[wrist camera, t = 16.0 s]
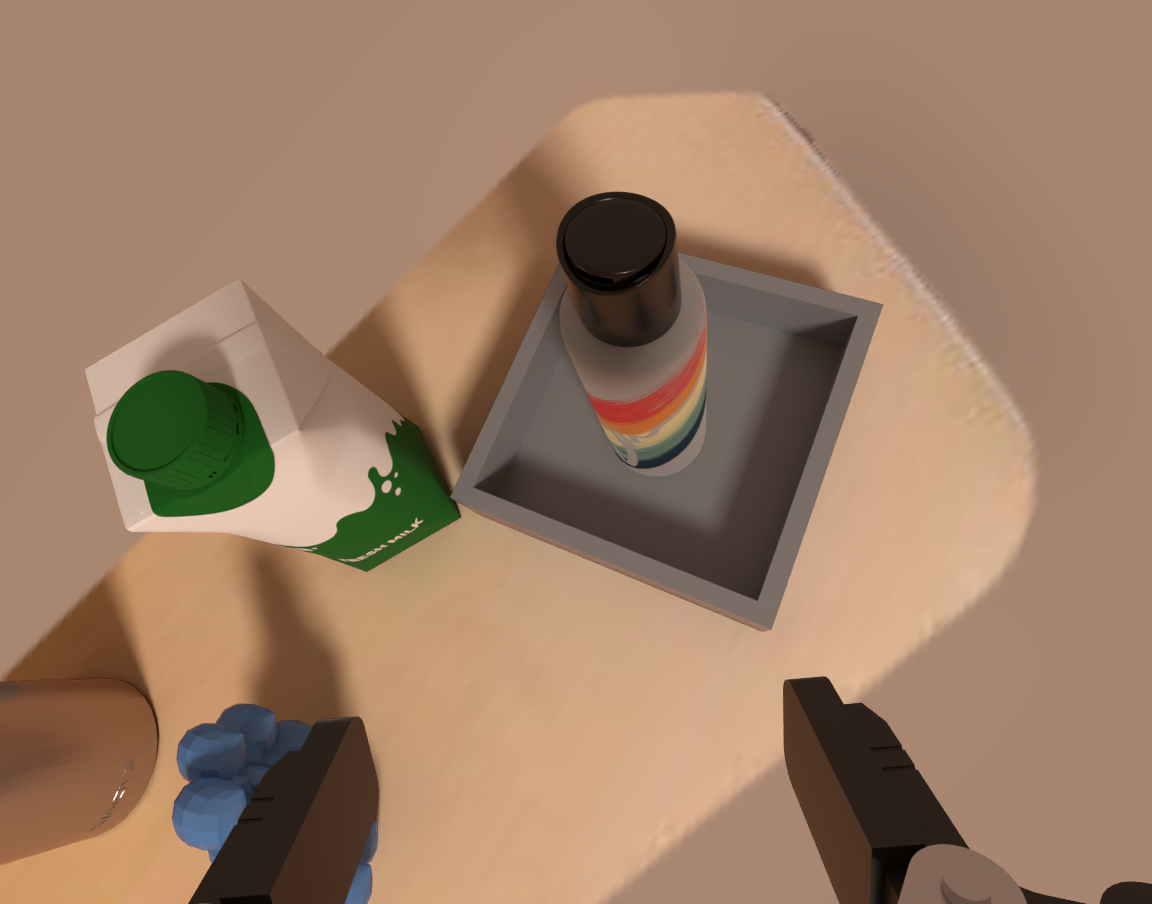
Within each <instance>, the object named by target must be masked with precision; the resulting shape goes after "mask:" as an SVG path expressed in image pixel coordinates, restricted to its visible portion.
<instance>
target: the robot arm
mask: <svg viewBox="0 0 1152 904" xmlns="http://www.w3.org/2000/svg"><path fill="white" fill-rule="evenodd" d="M783 721H784V754H785V761H786V766H787V770H788V774H789V778H790V781H791V784H792V786H793V789H794V791H795V794H796V796H797V799H798V801H799V804H800V806H801V809H802V811H803V814H804V816H805V819H806V821H807V824H808V826H809V829H810V831H811V834H812V836H813V839H814V841H815V844H816V846H817V848H818V851H819V854H820V856H821V859H822V861H823V864H824V866H825V869H826V871H827V874H828V876H829V878H830V881H831V883H832V886H833V888H834V891H835V893H836V896H837V898H838V901H839V903H840V904H1085V903H1080V902H1075V901H1071V900H1066V899H1061V898H1056V897H1052V896H1047V895H1042V894H1039V893H1035V892H1032V891H1030V890H1027V889H1024V888H1021V887H1019V886H1018V885H1017V883H1016V882H1015V881H1014V880H1013V879H1012V877H1011V876H1010V875H1009V874H1008V873H1007V872H1006V871H1005V870H1003V869H1002V868H1001V867H1000V866H999V865H997V864H996V863H995V862H993V861H992V860H990V859H988V858H987V857H985V856H983V855H981V854H979V853H977V852H975V851H973V850H970V849H969V847H968V846H967V845H966V843H965V842H964V840H963V838H962V837H961V836H960V834H959V832H958V831H957V829H956V828H955V826H954V825H953V823H952V822H951V820H950V819H949V817H948V816H947V814H946V812H945V811H944V809H943V808H942V806H941V805H940V803H939V802H938V800H937V799H936V797H935V796H934V794H933V793H932V791H931V789H930V788H929V786H928V785H927V783H926V782H925V780H924V779H923V778H922V776H921V774H920V773H919V771H918V770H916V769H915V766H914V763H913V762H912V760H911V759H910V757H909V756H908V754H907V753H906V751H905V750H903V749H902V745H901V744H900V742H899V741H898V739H897V737H896V736H895V735H894V733H893V732H892V730H891V728H890V727H889V725H888V724H887V722H886V721H885V720H883V719H882V718H881V717H879V716H878V715H877V714H875V713H874V712H873V711H872V710H870V709H869V708H868V707H866V706H865V705H864V704H863V703H854V704H843V702H842V700H841V699H840V697H839V695H838V694H837V692H836V690H835V688H834V687H833V685H832V683H831V682H830V680H829V679H828V678H827V677H825V676H823V677H812V678H800V679H789V680H785V681H784V686H783ZM157 740H158V739H157V730H156V722H155V719H154V716H153V713H152V709H151V708H150V706H149V704H148V702H147V701H146V699H145V697H144V696H143V695H142V694H141V693H140V692H139V691H138V690H137V689H136V688H135V687H133V686H132V685H130V684H128V683H126V682H125V681H121V680H117V679H86V680H74V679H71V678H68V679H47V680H26V681H5V682H0V865H3V864H6V863H10V862H13V861H16V860H19V859H23V858H26V857H29V856H33V855H36V854H39V853H43V852H46V851H49V850H52V849H56V848H59V847H62V846H65V845H69V844H72V843H75V842H78V841H82V840H85V839H88V838H91V837H95V836H98V835H100V834H102V833H104V832H106V831H108V830H110V829H112V828H113V827H114V826H116V825H117V824H118V823H119V822H121V821H122V820H123V819H124V818H125V817H126V816H127V815H128V814H129V813H130V812H131V811H132V809H133V808H134V807H135V806H136V804H137V803H138V801H139V800H140V798H141V796H142V795H143V793H144V792H145V790H146V787H147V785H148V783H149V780H150V778H151V775H152V772H153V768H154V764H155V760H156V754H157ZM378 795H379V790H378V780H377V775H376V771H375V767H374V763H373V759H372V755H371V751H370V747H369V743H368V739H367V735H366V731H365V727H364V723H363V721H362V719H361V718H360V717H358V716H356V717H345V718H334V719H322V720H318V721H317V722H316V723H315V724H314V726H313V727H312V729H311V731H310V733H309V735H308V736H307V738H306V740H305V742H304V744H303V746H302V747H301V749H300V750H298V751H288V752H287V753H286V754H285V755H284V756H283V757H282V758H281V759H280V760H279V761H278V762H277V763H276V764H275V765H274V766H272V767H271V768H270V769H269V770H268V771H267V772H266V773H265V774H264V776H263V778H262V779H261V781H260V783H259V784H258V786H257V788H256V790H255V791H254V793H253V795H252V796H251V798H250V803H249V804H247V805H246V807H245V808H244V810H243V812H242V813H241V815H240V817H239V818H238V824H237V825H234V827H233V829H232V830H231V832H230V834H229V835H228V837H227V839H226V841H225V842H224V844H223V846H222V847H221V849H220V851H219V852H218V854H217V856H216V858H215V859H214V861H213V863H212V864H211V866H210V868H209V869H208V871H207V873H206V874H205V876H204V878H203V880H202V881H201V883H200V885H199V886H198V888H197V890H196V891H195V893H194V895H193V897H192V898H191V900H190V902H189V903H188V904H345V902H346V899H347V896H348V893H349V890H350V887H351V885H352V882H353V879H354V876H355V873H356V870H357V867H358V865H359V862H360V859H361V856H362V853H363V850H364V848H365V845H366V842H367V839H368V836H369V833H370V830H371V828H372V825H373V822H374V819H375V816H376V812H377V806H378ZM1100 904H1152V884H1148V883H1142V882H1121V883H1118V884H1114V885H1112V886H1111V887H1109V888H1107V889H1106V891H1105V892H1104V893H1103V895H1102V898H1101V901H1100Z"/></svg>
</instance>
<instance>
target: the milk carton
mask: <svg viewBox="0 0 1152 904" xmlns="http://www.w3.org/2000/svg"><path fill="white" fill-rule="evenodd" d="M85 372H86V376H87V380H88V383H89V387H90V391H91V395H92V399H93V402H94V406H95V409H96V413H97V417H95V418H94V423H95V427H96V432H97V435H98V438H99V440H100V442H101V443H102V447H103V450H104V454H105V458H106V461H107V465H108V468H109V472H110V475H111V479H112V482H113V486H114V490H115V493H116V497H117V500H118V504H119V507H120V511H121V514H122V518H123V521H124V524H125V528H126V529H127V530H129V531H131V532H221V533H230V534H235V535H239V536H243V537H248V538H252V539H256V540H260V541H264V542H269V543H273V544H277V545H281V546H285V547H289V548H294V549H298V550H302V551H306V552H310V553H314V554H318V555H322V556H325V557H327V558H330V559H333V560H336V561H338V562H341V563H344V564H347V565H349V566H352V567H355V568H358V569H361V570H363V571H366V572H367V571H369V570H371V569H373V568H374V567H376V566H378V565H380V564H381V563H383V562H385V561H387V560H388V559H390V558H392V557H393V556H395V555H397V554H399V553H400V552H402V551H404V550H406V549H407V548H409V547H411V546H413V545H414V544H416V543H418V542H419V541H421V540H423V539H425V538H426V537H428V536H430V535H432V534H433V533H435V532H437V531H439V530H440V529H442V528H444V527H445V526H447V525H449V524H451V523H452V522H454V521H456V520H458V519H459V518H461V515H460V513H459V511H458V509H457V507H456V505H455V503H454V501H453V499H451V498H450V497H451V494H450V492H449V490H448V488H447V486H446V484H445V482H444V479H443V477H442V475H441V473H440V471H439V469H438V467H437V465H436V463H435V460H434V458H433V456H432V454H431V452H430V450H429V448H428V446H427V444H426V441H425V439H424V437H423V435H422V433H421V431H420V429H419V427H418V426H417V425H415V424H414V423H412V422H411V421H410V420H408V419H407V418H405V417H404V416H403V415H401V414H400V413H399V412H398V411H396V410H395V409H394V408H392V407H391V406H390V405H389V404H387V403H386V402H385V401H383V400H382V399H381V398H379V397H378V396H377V395H375V394H374V393H373V392H372V391H370V390H369V389H368V388H366V387H365V386H364V385H362V384H361V383H360V382H358V381H357V380H356V379H355V378H353V377H352V376H351V375H349V374H348V373H347V372H345V371H344V370H343V369H342V368H340V367H339V366H338V365H336V364H335V363H334V362H332V361H331V360H329V359H328V358H327V357H325V356H324V355H323V354H322V353H321V352H319V351H318V350H317V349H316V348H314V347H313V346H312V345H311V344H310V343H309V342H308V341H307V340H306V339H305V338H303V337H302V336H301V335H300V334H299V333H298V332H297V331H296V330H294V328H293V327H291V326H290V325H289V324H288V323H287V322H286V321H285V320H284V319H283V318H282V317H280V316H279V315H278V314H277V313H276V312H275V311H274V310H273V309H272V308H271V307H270V306H269V305H268V304H266V303H265V302H264V301H263V300H262V299H261V298H260V297H259V296H258V295H257V294H255V292H253V291H252V290H251V289H250V288H249V287H248V286H247V285H246V284H245V283H244V282H243V281H242V280H241V279H240V278H238V279H236V280H234V281H233V282H231V283H229V284H228V285H226V286H224V287H223V288H221V289H219V290H218V291H216V292H214V293H213V294H211V295H209V296H208V297H206V298H204V299H202V300H201V301H199V302H198V303H196V304H194V305H192V306H191V307H189V308H187V309H186V310H184V311H182V312H181V313H179V314H178V315H175V316H174V317H172V318H170V319H169V320H167V321H165V322H164V323H162V324H160V325H159V326H157V327H155V328H153V329H152V330H150V331H149V332H147V333H145V334H143V335H142V336H140V337H138V338H137V339H135V340H133V341H132V342H130V343H128V344H127V345H125V346H123V347H122V348H120V349H118V350H116V351H115V352H113V353H111V354H110V355H108V356H106V357H105V358H103V359H101V360H100V361H98V362H96V363H95V364H93V365H91V366H90V367H88V368H86V369H85Z"/></svg>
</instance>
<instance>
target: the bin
mask: <svg viewBox="0 0 1152 904" xmlns="http://www.w3.org/2000/svg"><path fill="white" fill-rule="evenodd" d="M678 258H679V259H680V260H682V261H683V262H684V263H685V264H686V265H687V266H688V267H689V268H690V269H691V270H692V271H693V272H694V274H695V275H696V277H697V278H698V280H699V282H700V285H701V287H702V289H703V293H704V296H705V301H706V314H707V378H706V433H705V439H704V442H703V445H702V448H701V450H700V452H699V454H698V455H697V457H696V458H695V459H694V460H693V461H692V462H691V463H690V464H689V465H688V466H687V467H685V468H684V469H682V470H680V471H679V472H676V473H674V474H671V475H667V476H659V477H655V476H647V475H643V474H640V473H637V472H635V471H633V470H632V469H630V468H629V467H627V466H626V465H625V464H624V463H623V462H622V461H621V460H620V459H619V458H618V456H617V455H616V453H615V452H614V450H613V448H612V446H611V444H610V442H609V440H608V438H607V436H606V433H605V431H604V429H603V427H602V425H601V423H600V420H599V418H598V416H597V414H596V412H595V410H594V407H593V405H592V403H591V401H590V399H589V397H588V394H587V392H586V390H585V388H584V386H583V384H582V381H581V379H580V377H579V375H578V373H577V371H576V368H575V366H574V364H573V362H572V360H571V357H570V355H569V353H568V351H567V348H566V346H565V343H564V341H563V338H562V334H561V329H560V307H561V302H562V299H563V296H564V293H565V291H566V289H567V287H568V284H567V282H566V279H565V276H564V274H563V271H562V268H561V265H560V262H559V264H558V266H557V269H556V271H555V273H554V275H553V277H552V279H551V282H550V284H549V286H548V288H547V290H546V292H545V294H544V297H543V299H542V301H541V303H540V305H539V307H538V309H537V312H536V314H535V316H534V318H533V320H532V322H531V325H530V327H529V329H528V331H527V333H526V335H525V337H524V340H523V342H522V344H521V346H520V348H519V350H518V352H517V355H516V357H515V359H514V361H513V363H512V365H511V368H510V370H509V372H508V374H507V376H506V378H505V380H504V383H503V385H502V387H501V389H500V391H499V393H498V396H497V398H496V400H495V402H494V404H493V406H492V408H491V411H490V413H489V415H488V417H487V419H486V421H485V423H484V426H483V428H482V430H481V432H480V434H479V436H478V439H477V441H476V443H475V445H474V447H473V449H472V451H471V454H470V456H469V458H468V460H467V462H466V464H465V466H464V469H463V471H462V473H461V475H460V477H459V479H458V482H457V484H456V486H455V488H454V490H453V492H452V494H451V497H450V498H451V499H453V500H455V501H457V502H458V503H460V504H462V505H463V506H465V507H467V508H469V509H470V510H472V511H474V512H475V513H477V514H479V515H481V516H483V517H486V518H488V519H490V520H493V521H495V522H498V523H500V524H503V525H505V526H507V527H510V528H512V529H515V530H517V531H520V532H522V533H524V534H527V535H529V536H532V537H534V538H537V539H539V540H541V541H544V542H546V543H549V544H551V545H554V546H556V547H558V548H561V549H563V550H566V551H568V552H570V553H573V554H575V555H578V556H580V557H583V558H585V559H587V560H590V561H592V562H595V563H597V564H600V565H602V566H604V567H607V568H609V569H612V570H614V571H617V572H619V573H621V574H624V575H626V576H629V577H631V578H634V579H636V580H638V581H641V582H643V583H646V584H648V585H651V586H653V587H655V588H658V589H660V590H663V591H665V592H668V593H670V594H672V595H675V596H677V597H680V598H682V599H685V600H687V601H689V602H692V603H694V604H697V605H699V606H702V607H704V608H706V609H709V610H711V611H714V612H716V613H719V614H721V615H723V616H726V617H728V618H731V619H733V620H735V621H738V622H740V623H743V624H745V625H748V626H750V627H752V628H755V629H757V630H760V631H762V632H764V631H767V630H771V629H772V626H773V623H774V620H775V618H776V615H777V612H778V609H779V606H780V603H781V600H782V597H783V594H784V591H785V589H786V586H787V583H788V580H789V577H790V574H791V571H792V568H793V565H794V562H795V559H796V557H797V554H798V551H799V548H800V545H801V542H802V539H803V536H804V533H805V530H806V528H807V525H808V522H809V519H810V516H811V513H812V510H813V507H814V504H815V501H816V499H817V496H818V493H819V490H820V487H821V484H822V481H823V478H824V475H825V472H826V469H827V467H828V464H829V461H830V458H831V455H832V452H833V449H834V446H835V443H836V440H837V438H838V435H839V432H840V429H841V426H842V423H843V420H844V417H845V414H846V411H847V408H848V406H849V403H850V400H851V397H852V394H853V391H854V388H855V385H856V382H857V379H858V377H859V374H860V371H861V368H862V365H863V362H864V359H865V356H866V353H867V350H868V348H869V345H870V342H871V339H872V336H873V333H874V330H875V327H876V324H877V321H878V318H879V316H880V313H881V310H882V307H883V304H880V303H876V302H872V301H868V300H864V299H860V298H856V297H852V296H848V295H845V294H841V293H837V292H833V291H829V290H825V289H821V288H817V287H813V286H809V285H805V284H801V283H797V282H793V281H789V280H786V279H782V278H778V277H774V276H770V275H766V274H762V273H758V272H754V271H750V270H746V269H742V268H738V267H734V266H730V265H726V264H723V263H719V262H715V261H711V260H707V259H703V258H699V257H695V256H691V255H687V254H683V253H679V252H678Z"/></svg>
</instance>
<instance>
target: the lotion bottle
mask: <svg viewBox="0 0 1152 904" xmlns="http://www.w3.org/2000/svg"><path fill="white" fill-rule="evenodd" d="M556 248H557V255H558V259H559V262H560V265H561V268H562V271H563V274H564V276H565V279H566V282H567V284H568V287H567V289H566V291H565V293H564V296H563V299H562V302H561V307H560V329H561V334H562V338H563V341H564V343H565V346H566V348H567V351H568V353H569V355H570V357H571V360H572V362H573V364H574V366H575V368H576V371H577V373H578V375H579V377H580V379H581V381H582V384H583V386H584V388H585V390H586V392H587V394H588V397H589V399H590V401H591V403H592V405H593V407H594V410H595V412H596V414H597V416H598V418H599V420H600V423H601V425H602V427H603V429H604V431H605V433H606V436H607V438H608V440H609V442H610V444H611V446H612V448H613V450H614V452H615V453H616V455H617V456H618V458H619V459H620V460H621V461H622V462H623V463H624V464H625V465H626V466H627V467H629V468H630V469H632V470H633V471H635V472H637V473H640V474H643V475H647V476H655V477H659V476H667V475H671V474H674V473H676V472H679V471H680V470H682V469H684V468H685V467H687V466H688V465H689V464H690V463H691V462H692V461H693V460H694V459H695V458H696V457H697V455H698V454H699V452H700V450H701V448H702V445H703V442H704V439H705V433H706V378H707V314H706V301H705V296H704V293H703V289H702V287H701V285H700V282H699V280H698V278H697V277H696V275H695V274H694V272H693V271H692V270H691V269H690V268H689V267H688V266H687V265H686V264H685V263H684V262H683V261H682V260H680V259H679V258H678V246H677V235H676V228H675V224H674V221H673V219H672V217H671V215H670V213H669V212H668V211H667V210H666V209H665V208H664V207H663V206H662V205H661V204H659V203H658V202H656V201H654V200H652V199H650V198H648V197H645V196H642V195H639V194H634V193H628V192H606V193H600V194H596V195H593V196H590V197H588V198H585V199H583V200H581V201H580V202H578V203H577V204H575V205H574V206H573V207H572V208H571V209H570V210H569V211H568V212H567V213H566V215H565V216H564V218H563V219H562V221H561V223H560V226H559V229H558V233H557V240H556Z"/></svg>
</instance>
